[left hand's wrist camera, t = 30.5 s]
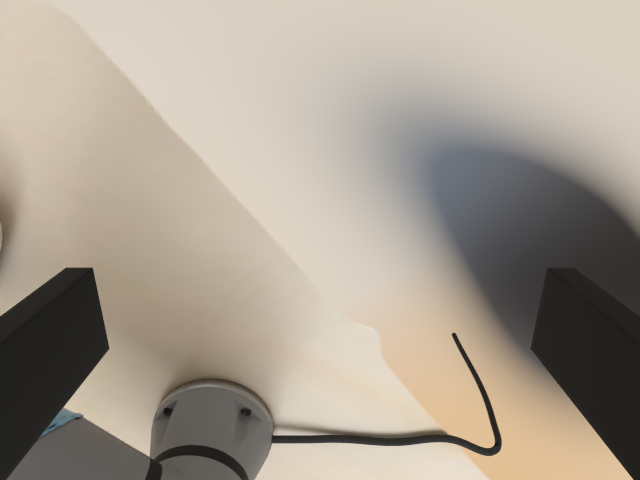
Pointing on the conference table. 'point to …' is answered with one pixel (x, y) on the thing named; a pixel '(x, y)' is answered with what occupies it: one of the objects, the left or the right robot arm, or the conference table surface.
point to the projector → (0, 236)
